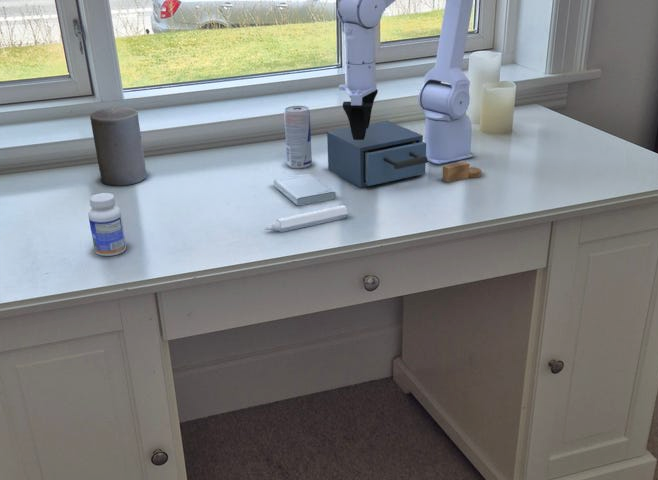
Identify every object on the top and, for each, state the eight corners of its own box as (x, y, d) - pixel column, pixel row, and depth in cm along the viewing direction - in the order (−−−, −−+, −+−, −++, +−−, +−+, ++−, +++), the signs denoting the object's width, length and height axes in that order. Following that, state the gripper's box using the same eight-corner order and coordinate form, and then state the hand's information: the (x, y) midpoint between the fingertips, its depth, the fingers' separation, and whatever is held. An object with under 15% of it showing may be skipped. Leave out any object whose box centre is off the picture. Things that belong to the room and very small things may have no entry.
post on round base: (449, 183, 165) (450, 169, 164) (439, 179, 168) (440, 164, 166) (484, 175, 168) (485, 161, 167) (474, 171, 171) (475, 157, 169)
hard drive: (335, 191, 159) (310, 172, 169) (296, 198, 157) (273, 178, 166) (336, 199, 160) (311, 180, 170) (296, 206, 158) (273, 186, 167)
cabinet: (421, 174, 171) (422, 135, 166) (360, 187, 165) (360, 147, 161) (386, 157, 181) (387, 120, 177) (328, 169, 175) (327, 131, 171)
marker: (264, 237, 147) (344, 219, 152) (268, 235, 145) (348, 216, 151) (260, 223, 147) (340, 205, 152) (264, 221, 145) (345, 202, 150)
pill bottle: (97, 245, 145) (87, 192, 140) (128, 243, 145) (119, 190, 140) (92, 258, 140) (82, 203, 135) (125, 255, 140) (115, 201, 135)
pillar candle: (91, 183, 173) (78, 111, 165) (118, 169, 181) (106, 99, 173) (131, 188, 170) (119, 114, 162) (156, 173, 177) (146, 102, 170)
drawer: (440, 180, 164) (441, 149, 161) (383, 194, 159) (383, 162, 156) (392, 157, 178) (392, 128, 174) (338, 169, 173) (337, 139, 169)
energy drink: (313, 160, 181) (310, 105, 174) (310, 168, 176) (308, 112, 170) (288, 161, 181) (285, 105, 175) (285, 168, 177) (282, 112, 170)
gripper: (343, 53, 161) (345, 123, 168) (333, 70, 149) (335, 144, 156) (379, 53, 160) (379, 123, 167) (372, 69, 148) (373, 144, 155)
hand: (361, 133), depth 162 cm, fingers open, 7 cm apart
